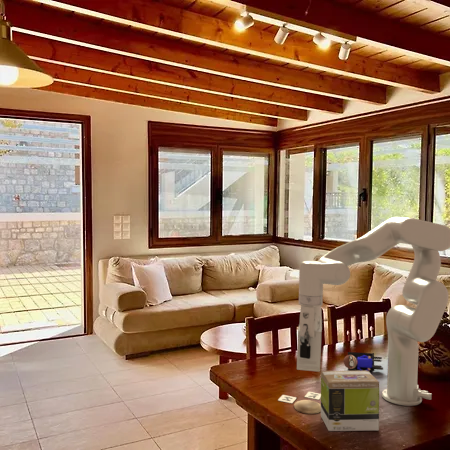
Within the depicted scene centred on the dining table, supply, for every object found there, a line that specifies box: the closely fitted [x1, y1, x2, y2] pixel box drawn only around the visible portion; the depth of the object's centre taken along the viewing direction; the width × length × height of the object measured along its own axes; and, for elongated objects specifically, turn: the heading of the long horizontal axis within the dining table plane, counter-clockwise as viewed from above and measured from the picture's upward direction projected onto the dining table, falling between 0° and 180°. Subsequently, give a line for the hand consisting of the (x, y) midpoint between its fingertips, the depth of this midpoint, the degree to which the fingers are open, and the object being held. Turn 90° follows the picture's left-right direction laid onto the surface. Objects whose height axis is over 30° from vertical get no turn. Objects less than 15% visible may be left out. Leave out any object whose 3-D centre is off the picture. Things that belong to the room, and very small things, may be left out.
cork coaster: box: [293, 399, 321, 415], centre depth 154 cm, size 9×9×1 cm
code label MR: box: [277, 394, 298, 404], centre depth 160 cm, size 5×5×1 cm
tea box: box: [320, 370, 380, 432], centre depth 142 cm, size 15×10×15 cm, turn 92°
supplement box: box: [296, 327, 322, 372], centre depth 153 cm, size 7×7×13 cm
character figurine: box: [343, 351, 384, 372], centre depth 188 cm, size 8×7×15 cm
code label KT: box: [304, 391, 321, 401], centre depth 163 cm, size 5×5×1 cm
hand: (309, 353), depth 153 cm, fingers closed on supplement box, 8 cm apart
